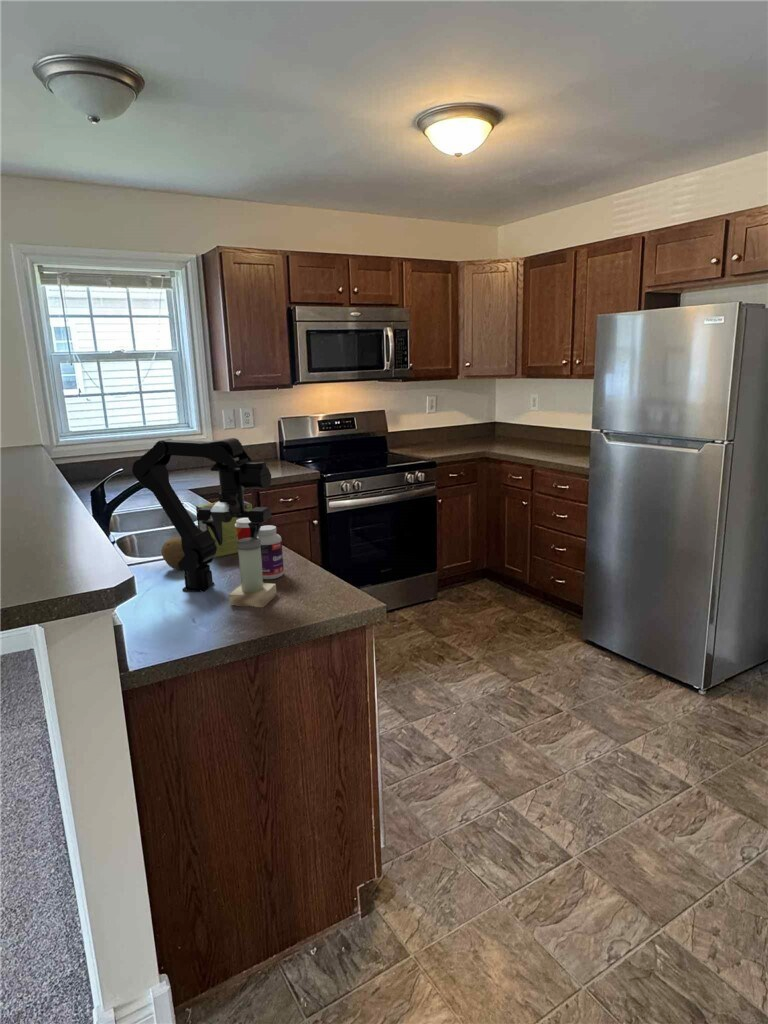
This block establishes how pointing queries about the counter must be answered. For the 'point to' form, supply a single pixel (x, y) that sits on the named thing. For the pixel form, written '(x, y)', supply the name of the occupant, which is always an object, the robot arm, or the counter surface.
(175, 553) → the natural sponge
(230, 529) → the protein box
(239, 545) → the spice jar
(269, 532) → the pill bottle
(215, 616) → the counter surface
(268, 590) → the maple board
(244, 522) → the red label supplement bottle
